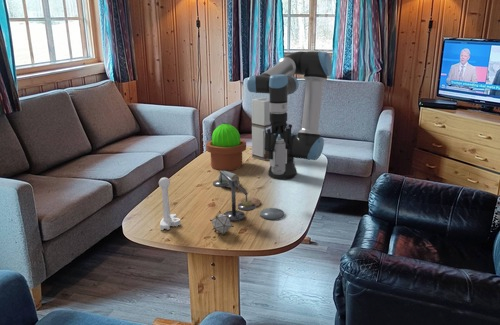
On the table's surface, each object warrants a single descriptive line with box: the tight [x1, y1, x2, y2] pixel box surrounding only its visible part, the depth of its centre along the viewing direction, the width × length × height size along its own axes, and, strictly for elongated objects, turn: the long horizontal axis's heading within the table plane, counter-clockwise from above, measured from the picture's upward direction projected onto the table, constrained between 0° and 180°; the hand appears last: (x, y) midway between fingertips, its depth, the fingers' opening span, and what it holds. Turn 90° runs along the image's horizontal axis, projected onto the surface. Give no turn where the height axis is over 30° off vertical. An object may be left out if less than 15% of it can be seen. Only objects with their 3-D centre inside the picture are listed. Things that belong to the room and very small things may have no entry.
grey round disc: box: [260, 207, 285, 221], centre depth 190 cm, size 10×10×1 cm
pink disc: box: [237, 196, 261, 208], centre depth 202 cm, size 10×10×1 cm
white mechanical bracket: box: [158, 177, 181, 231], centre depth 179 cm, size 11×8×20 cm
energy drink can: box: [272, 138, 285, 175], centre depth 196 cm, size 6×6×15 cm
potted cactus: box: [205, 122, 247, 171], centre depth 253 cm, size 22×22×25 cm
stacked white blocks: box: [251, 96, 272, 162], centre depth 268 cm, size 11×11×35 cm
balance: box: [212, 170, 256, 223], centre depth 186 cm, size 25×9×18 cm, turn 37°
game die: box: [209, 211, 235, 236], centre depth 173 cm, size 9×8×10 cm
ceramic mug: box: [218, 170, 241, 189], centre depth 224 cm, size 11×8×8 cm
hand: (278, 164), depth 197 cm, fingers closed on energy drink can, 6 cm apart
